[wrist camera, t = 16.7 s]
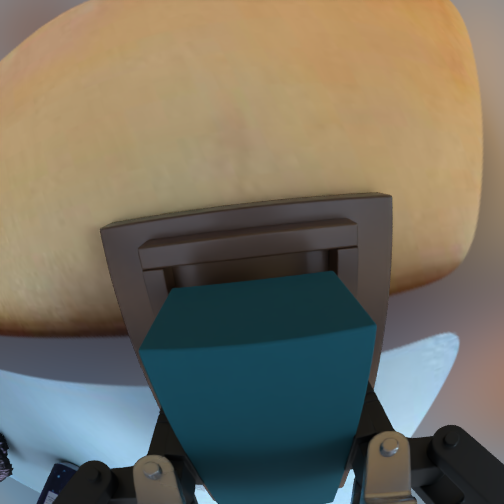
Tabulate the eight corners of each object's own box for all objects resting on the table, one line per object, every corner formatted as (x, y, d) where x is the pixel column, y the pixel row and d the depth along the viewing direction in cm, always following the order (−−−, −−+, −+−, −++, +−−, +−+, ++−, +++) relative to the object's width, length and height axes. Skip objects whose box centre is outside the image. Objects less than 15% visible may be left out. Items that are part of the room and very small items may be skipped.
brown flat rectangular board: (111, 222, 10) (48, 253, 6) (379, 192, 10) (446, 208, 6) (214, 490, 17) (212, 530, 13) (340, 477, 17) (350, 515, 13)
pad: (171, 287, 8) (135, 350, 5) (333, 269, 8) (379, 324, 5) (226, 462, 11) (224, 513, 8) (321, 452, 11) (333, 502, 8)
